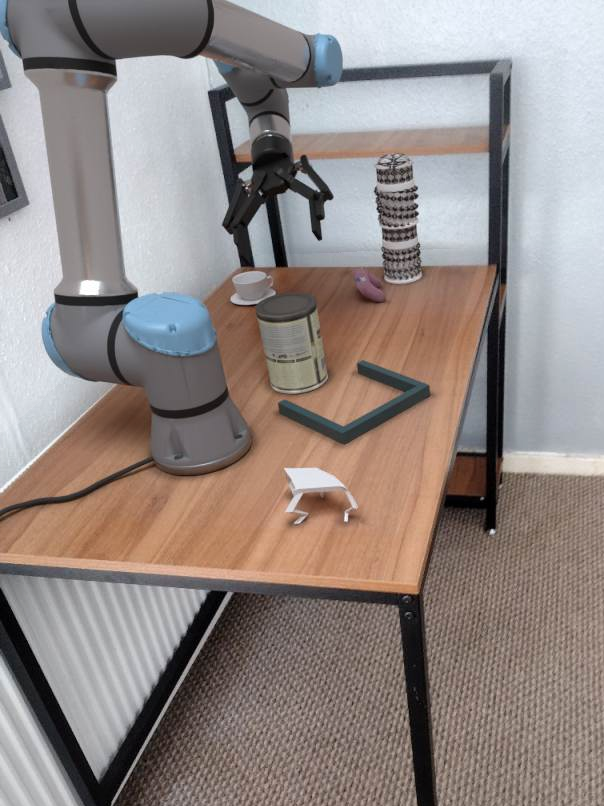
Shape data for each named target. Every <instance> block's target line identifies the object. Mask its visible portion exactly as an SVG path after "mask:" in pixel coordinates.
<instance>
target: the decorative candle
mask: <svg viewBox="0 0 604 806" xmlns="http://www.w3.org/2000/svg"><path fill="white" fill-rule="evenodd" d="M414 163H415V162H414V161H413V160H412V159H410V158H409V156H408V155H407V154H406V153H400V152H399V153H398V152H397V153H396V152H395V153H387V154H384V155H382V156H380V157H379V158H378V161H377V163H375V164H374V166H373V167H374V168H375V171H376V186H375V187H374V190H373V193H374V195H375V196H376V197H375V204H376V208H375V209H376V211H377V213H378V217H377V221H378V223H379V224H378V225H379V227H380V228H381V236H382V237H381V245H382V246H381V247H380V250H381V252H382V254H381V257H382V260H383V261H382V264H381V265H382V267H383V269H382V272H383V274H384V276H383V277H384V278H383V279H384V281H385V282H387V283H390V284H393V285H394V284H395V285H404V284H410V283H414V282H416V281H418V280H420V279H421V278H422V277H423V274H422V269H423V267H422V262H423V261H422V259H421V254H422V252H421V249H420V248H421V244H420V242H419V233H418V228H417V227H418V225H417V224H418V223H419V218H418V216H419V215H420V212H419V211H417V209H418V208H419V204H418V203H416V202H415V201H416V200H417V199H418V198H419V194H418V193H416V192H417V191H419V186H418V185H416V184H415V177H414V169H413V165H414Z"/></svg>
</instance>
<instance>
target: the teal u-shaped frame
mask: <svg viewBox="0 0 604 806" xmlns="http://www.w3.org/2000/svg"><path fill="white" fill-rule="evenodd" d="M356 368H357V369H356V370H357V374H359V375H361V376H364V377H366V378H369V379H371V380H374V381H376V382H379V383H380V384H383V385H386V386H390V387H392V388H394V389H397V390H399V391H402V393H401V394H399V395H398V396H396V397H394V398H392V399H390V400H388V401H386V402H385V403H383V404H381V405H380V406H378V407H376V408H374V409H372V410H370V411H369V412H366V413H365V414H363V415H361V416H360V417H358V418H356V419H354V420H352V421H351V422H349V423H347V424H345V425H341V424H340V423H337V422H335V421H333V420H331V419H329V418H326V417H325V416H322V415H320V414H318V413H315V412H313V411H312V410H309V409H307V408H305V407H302V406H300V405H298V404H297V403H294V402H292V401H290V400H287V399H285V398H284V399H282V400H280V401H278V402H277V406H278V412H279V414H280V415H282V416H284V417H286V418H288V419H291V420H292V421H294V422H297V423H299V424H300V425H303V426H305V427H306V428H309V429H311V430H313V431H316V432H317V433H319V434H321V435H323V436H325V437H327V438H330V439H332V440H334V441H336V442H338V443H340V444H342V445H346V444H349V442H352V441H353V440H355V439H357V438H359V437H360V436H362V435H363V434H366V433H367V432H369V431H371V430H373V429H374V428H376V427H378V426H380V425H381V424H383V423H385V422H387V421H388V420H391V419H392V418H393V417H396V416H397V415H399V414H400V413H403V412H404V411H406V410H408V409H409V408H412V407H414V406H415V405H417V404H418V403H420V402H422V401H424V400H425V399H427V398H429V397H430V396H431V389H430V384H429V383H426V382H423V381H420V380H418V379H416V378H415V379H414V378H412V377H409V376H407V375H404V374H402V373H398V372H397V371H394V370H391V369H388V368H385V367H382V366H380V365H378V364H375V363H372V362H369V361H368V360H367V361H366V360H364V359H362V360H360V361H358V362H356Z"/></svg>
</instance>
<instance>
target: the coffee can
mask: <svg viewBox="0 0 604 806" xmlns="http://www.w3.org/2000/svg"><path fill="white" fill-rule="evenodd" d="M254 313H255V315H256V318H257V323H258V324H257V325H258V329H259V333H260V338H261V343H262V348H263V352H264V358H265V363H266V367H267V368H266V369H267V372H268V377H269V381H270V382H269V383H270V387H271V389H272V390H273V391H275V392H277V393H281V394H285V395H287V394H288V395H298V394H305V393H309V392H311V391H314V390H316V389H319V388H321V387H322V386H323V385H325V384H326V382H327V381H328V379H329V373H328V370H327V369H328V368H327V365H326V364H327V362H326V356H325V350H324V343H323V336H322V331H321V325H320V324H321V323H320V319H319V311H318V299H317V297H316V296H315V295H313V294H311V293H307V292H302V291H301V292H300V291H293V292H292V291H291V292H282V293H277V294H275V295H273V296H270V297H268V298H265V299H264V300H262V301H260V302H259V303H257V304H255V306H254Z"/></svg>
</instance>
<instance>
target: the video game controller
mask: <svg viewBox="0 0 604 806" xmlns="http://www.w3.org/2000/svg"><path fill="white" fill-rule="evenodd" d="M352 274H353V275H354V277H353V281H354V283H355V285H356V287H357V289H358V291H359V292H360V293H361V295H362V296H363V298H366V300H371V301H373V302H377V303H383V302H385V301H386V298H387V297H386V294H385V293H384V292H383V291H382V289H380V288H381V286H382V281H381V279H380V278H379V277H378V276H376V275H374V274H373V273H371V272H370V271H368V270H367V268H364V267H363V266H361V267H360V268H356V269H355V270H353V273H352Z"/></svg>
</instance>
